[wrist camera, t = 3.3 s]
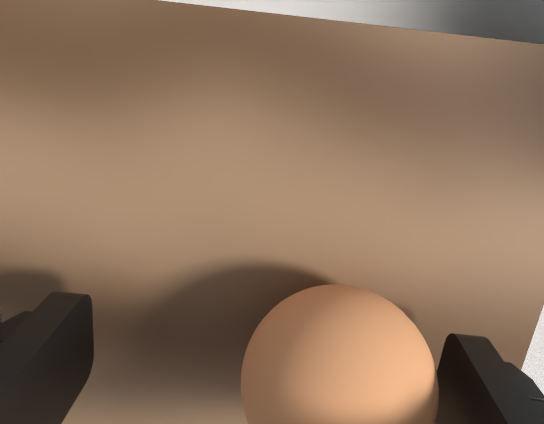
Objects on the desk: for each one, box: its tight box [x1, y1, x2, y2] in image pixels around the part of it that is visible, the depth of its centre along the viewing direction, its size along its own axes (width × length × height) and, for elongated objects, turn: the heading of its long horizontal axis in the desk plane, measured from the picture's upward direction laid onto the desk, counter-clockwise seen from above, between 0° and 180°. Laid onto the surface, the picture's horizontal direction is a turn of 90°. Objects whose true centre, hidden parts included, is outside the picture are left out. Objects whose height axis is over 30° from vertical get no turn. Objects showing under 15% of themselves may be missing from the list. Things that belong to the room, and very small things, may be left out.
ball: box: [241, 284, 439, 424], centre depth 10 cm, size 4×4×4 cm
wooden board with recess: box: [0, 0, 544, 424], centre depth 13 cm, size 14×20×2 cm
